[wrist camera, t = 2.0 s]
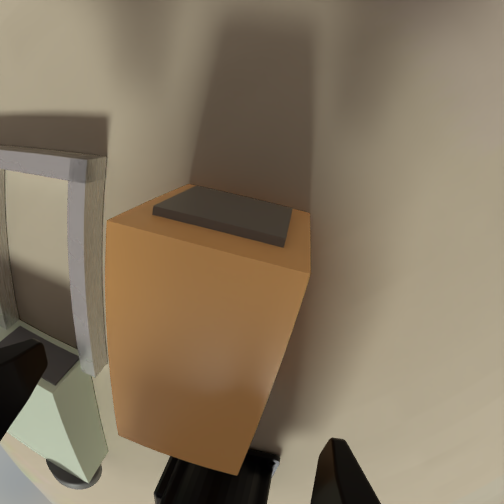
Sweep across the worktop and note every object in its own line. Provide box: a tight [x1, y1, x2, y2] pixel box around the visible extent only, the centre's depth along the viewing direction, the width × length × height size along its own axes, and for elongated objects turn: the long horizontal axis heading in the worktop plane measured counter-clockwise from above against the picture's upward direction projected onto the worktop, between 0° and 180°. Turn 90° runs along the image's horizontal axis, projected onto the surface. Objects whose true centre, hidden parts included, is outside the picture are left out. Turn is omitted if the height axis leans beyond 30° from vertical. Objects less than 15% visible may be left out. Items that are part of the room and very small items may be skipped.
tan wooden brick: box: [105, 184, 311, 476], centre depth 12 cm, size 5×9×6 cm, turn 169°
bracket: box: [0, 145, 107, 377], centre depth 15 cm, size 9×12×2 cm
